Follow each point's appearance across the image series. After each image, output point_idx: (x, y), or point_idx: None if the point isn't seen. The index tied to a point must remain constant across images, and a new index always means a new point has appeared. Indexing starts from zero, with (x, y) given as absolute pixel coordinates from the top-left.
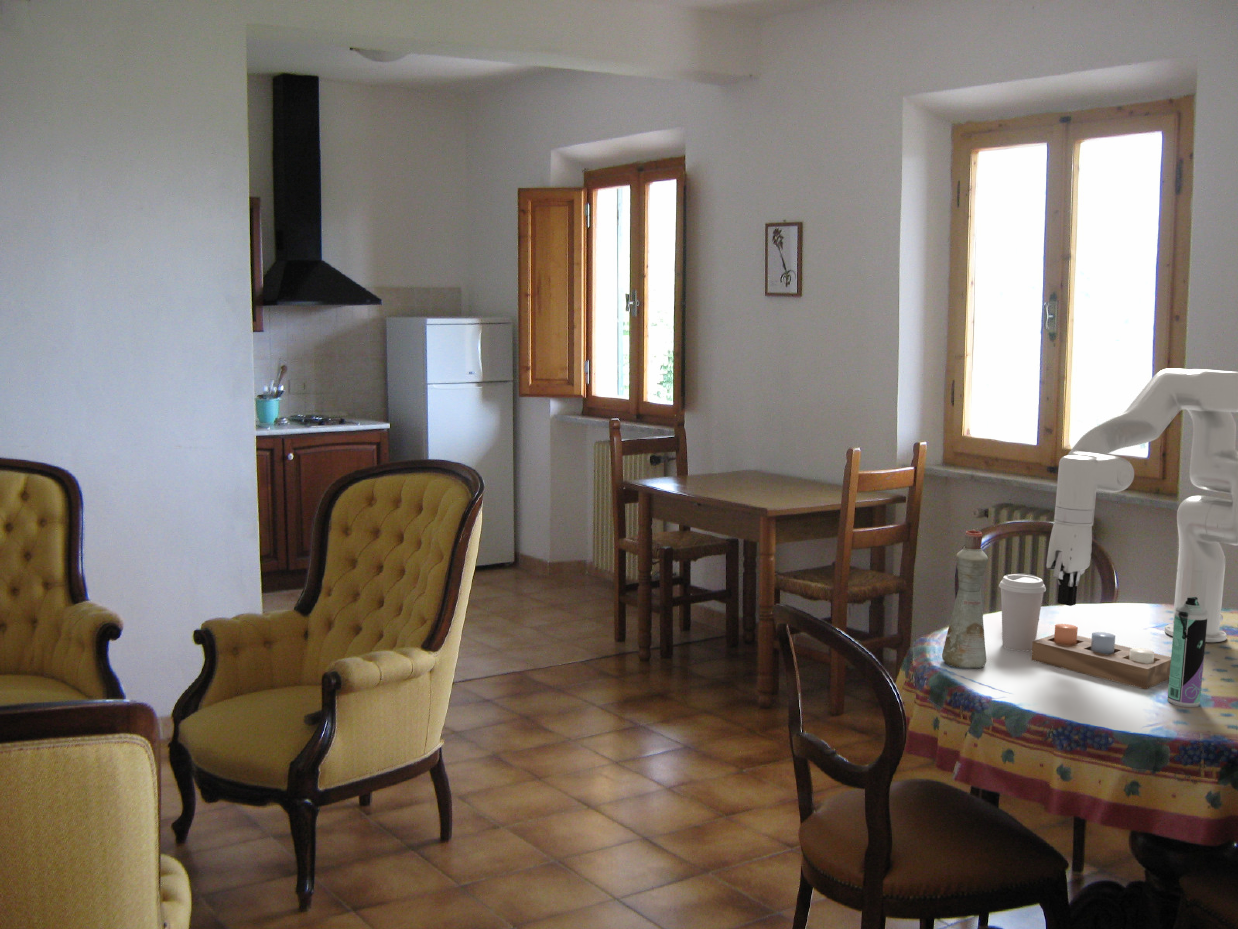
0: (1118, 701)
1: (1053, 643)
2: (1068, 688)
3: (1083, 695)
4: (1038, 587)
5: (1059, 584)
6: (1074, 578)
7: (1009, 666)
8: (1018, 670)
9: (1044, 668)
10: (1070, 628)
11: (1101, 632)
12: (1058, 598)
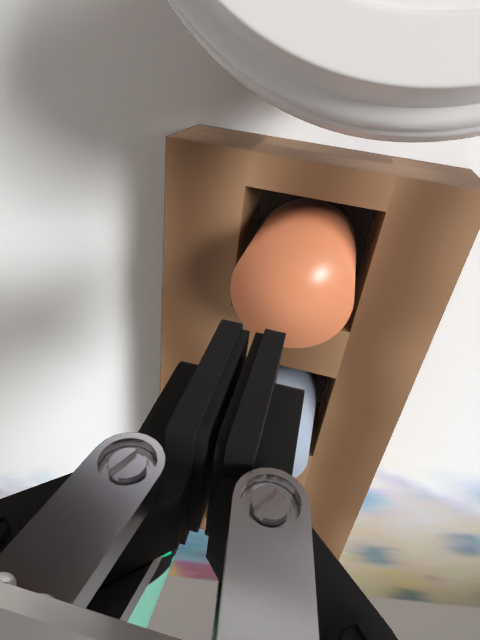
0: (43, 430)
1: (208, 234)
2: (23, 326)
3: (10, 366)
4: (306, 94)
5: (119, 444)
6: (214, 621)
7: (51, 86)
8: (38, 140)
9: (139, 209)
10: (265, 322)
11: (299, 440)
12: (214, 340)
